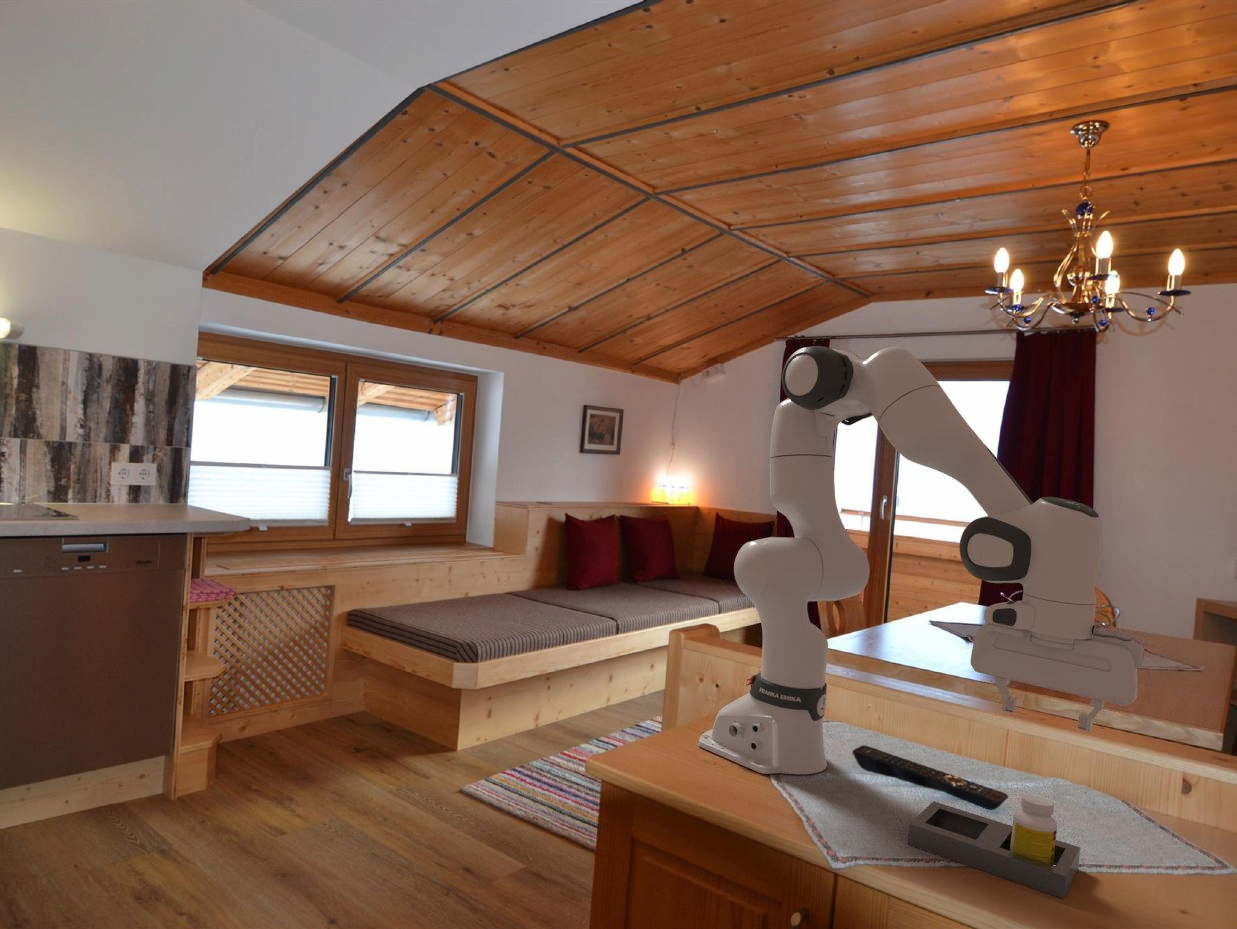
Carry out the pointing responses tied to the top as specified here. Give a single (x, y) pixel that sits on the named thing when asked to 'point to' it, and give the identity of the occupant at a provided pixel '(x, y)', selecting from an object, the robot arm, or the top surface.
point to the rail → (990, 848)
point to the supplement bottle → (1034, 829)
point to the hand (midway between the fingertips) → (1045, 720)
